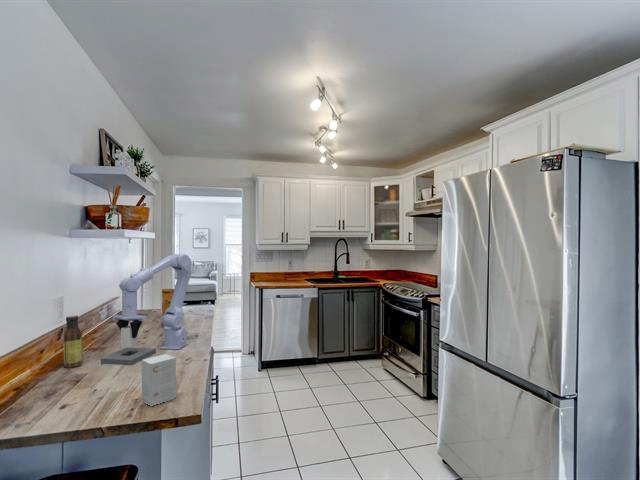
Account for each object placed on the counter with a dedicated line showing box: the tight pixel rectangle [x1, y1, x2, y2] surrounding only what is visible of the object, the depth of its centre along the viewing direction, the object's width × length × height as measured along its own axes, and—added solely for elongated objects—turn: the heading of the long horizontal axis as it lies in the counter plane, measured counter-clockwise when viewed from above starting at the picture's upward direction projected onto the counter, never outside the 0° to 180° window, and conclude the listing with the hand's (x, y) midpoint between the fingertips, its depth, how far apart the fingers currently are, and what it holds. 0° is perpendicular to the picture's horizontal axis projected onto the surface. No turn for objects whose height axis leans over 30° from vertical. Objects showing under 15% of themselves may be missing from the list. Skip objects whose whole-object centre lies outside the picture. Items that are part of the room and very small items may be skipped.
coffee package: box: [160, 288, 175, 327], centre depth 215 cm, size 10×12×22 cm
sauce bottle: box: [62, 314, 84, 369], centre depth 143 cm, size 6×6×20 cm
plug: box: [120, 324, 139, 348], centre depth 153 cm, size 4×6×8 cm
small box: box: [141, 353, 177, 407], centre depth 111 cm, size 8×6×13 cm
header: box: [100, 347, 157, 366], centre depth 152 cm, size 14×16×2 cm
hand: (129, 337), depth 153 cm, fingers closed on plug, 4 cm apart
